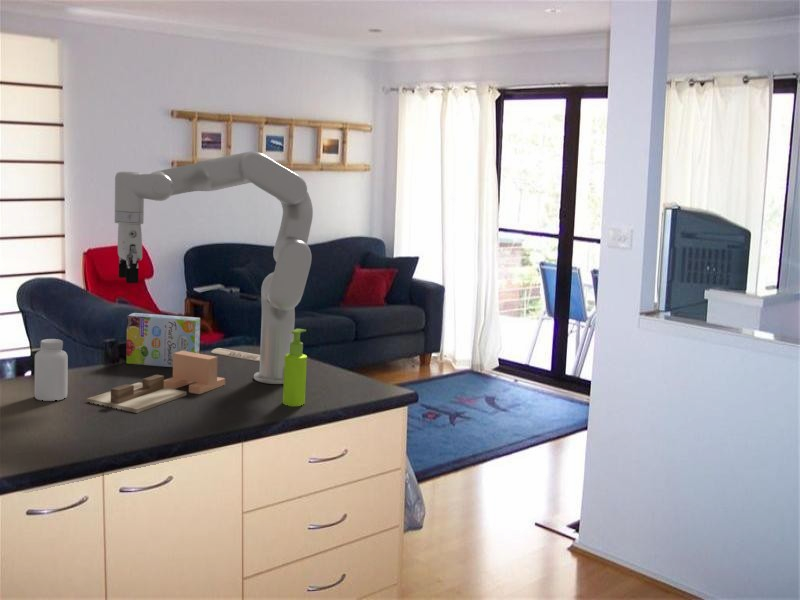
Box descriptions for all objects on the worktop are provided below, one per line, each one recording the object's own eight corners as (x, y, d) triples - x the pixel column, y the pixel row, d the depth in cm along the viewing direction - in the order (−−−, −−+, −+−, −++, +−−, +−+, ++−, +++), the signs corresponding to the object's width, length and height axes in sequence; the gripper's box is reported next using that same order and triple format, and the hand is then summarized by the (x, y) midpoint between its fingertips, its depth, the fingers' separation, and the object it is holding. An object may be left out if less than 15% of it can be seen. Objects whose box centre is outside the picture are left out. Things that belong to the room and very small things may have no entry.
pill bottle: (74, 396, 239) (74, 340, 237) (50, 403, 232) (50, 345, 229) (51, 391, 242) (51, 336, 240) (27, 398, 235) (27, 341, 233)
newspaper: (283, 362, 293) (283, 357, 292) (271, 367, 286) (271, 361, 286) (221, 352, 302) (221, 346, 302) (208, 355, 295) (208, 350, 295)
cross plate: (225, 385, 260) (226, 354, 258) (199, 394, 249) (200, 362, 247) (190, 378, 264) (190, 348, 263) (163, 387, 253) (164, 355, 252)
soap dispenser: (310, 401, 249) (313, 328, 245) (298, 407, 242) (302, 333, 239) (290, 398, 250) (293, 326, 247) (278, 404, 244) (282, 330, 241)
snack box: (199, 365, 280) (201, 317, 277) (193, 370, 274) (195, 320, 272) (132, 359, 282) (133, 311, 279) (125, 364, 276) (125, 314, 274)
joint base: (186, 395, 247) (186, 379, 246) (137, 413, 229) (137, 395, 228) (138, 385, 253) (139, 369, 252) (86, 402, 235) (87, 385, 234)
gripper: (150, 221, 243) (149, 285, 246) (136, 215, 258) (135, 275, 261) (121, 220, 240) (120, 285, 242) (108, 214, 255) (108, 275, 257)
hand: (128, 280), depth 252 cm, fingers open, 9 cm apart
